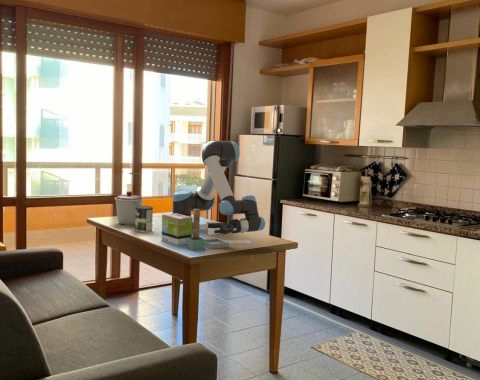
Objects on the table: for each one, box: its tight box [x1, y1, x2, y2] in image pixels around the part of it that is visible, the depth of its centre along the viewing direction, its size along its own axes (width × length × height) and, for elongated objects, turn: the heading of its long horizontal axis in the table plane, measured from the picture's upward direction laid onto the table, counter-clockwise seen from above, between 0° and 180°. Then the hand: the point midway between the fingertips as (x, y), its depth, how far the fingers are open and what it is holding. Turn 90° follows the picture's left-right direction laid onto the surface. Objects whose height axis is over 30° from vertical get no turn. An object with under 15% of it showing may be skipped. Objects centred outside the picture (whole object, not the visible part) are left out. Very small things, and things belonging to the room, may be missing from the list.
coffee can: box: [134, 205, 154, 233], centre depth 281 cm, size 10×10×14 cm
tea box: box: [161, 213, 193, 246], centre depth 252 cm, size 15×10×15 cm, turn 45°
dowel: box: [192, 209, 201, 240], centre depth 238 cm, size 3×3×20 cm
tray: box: [204, 237, 230, 249], centre depth 248 cm, size 12×11×3 cm
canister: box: [114, 190, 145, 226], centre depth 301 cm, size 18×18×21 cm
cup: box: [185, 236, 206, 251], centre depth 239 cm, size 7×7×6 cm
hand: (202, 229), depth 238 cm, fingers open, 13 cm apart
